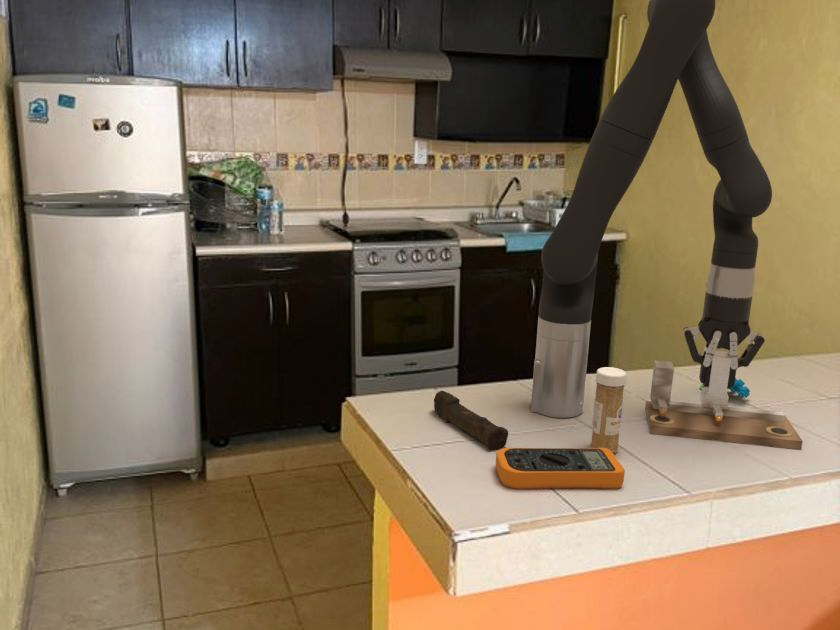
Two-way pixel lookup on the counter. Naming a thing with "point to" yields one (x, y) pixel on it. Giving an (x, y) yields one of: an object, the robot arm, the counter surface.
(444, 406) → the dark brown rod
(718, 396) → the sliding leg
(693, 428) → the plate
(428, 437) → the counter surface
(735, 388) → the blue branching piece
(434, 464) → the counter surface
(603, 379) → the sprinkles bottle
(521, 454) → the multimeter
